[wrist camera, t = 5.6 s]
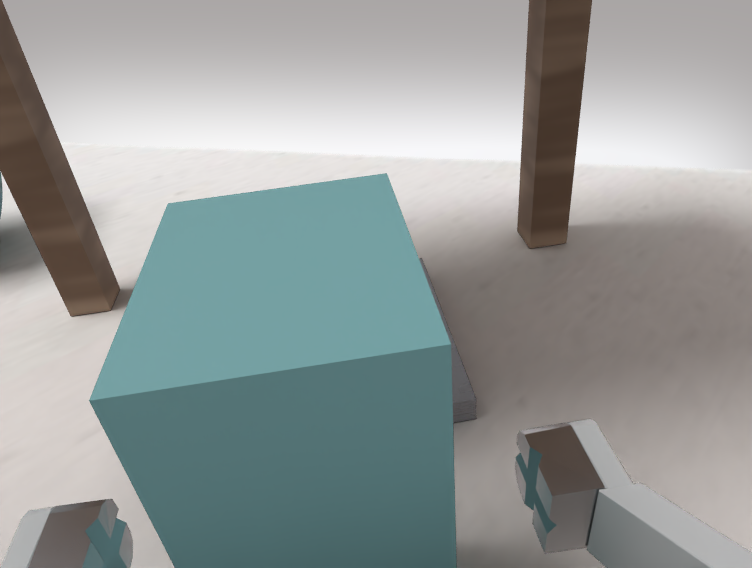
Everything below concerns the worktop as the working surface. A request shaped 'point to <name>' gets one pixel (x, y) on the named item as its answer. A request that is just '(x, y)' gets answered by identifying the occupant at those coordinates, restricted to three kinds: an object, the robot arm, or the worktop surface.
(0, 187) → the flower pot
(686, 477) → the worktop surface
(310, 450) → the teal box
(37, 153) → the overhang shelf
